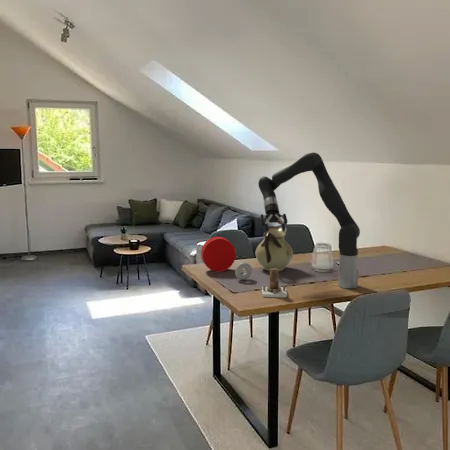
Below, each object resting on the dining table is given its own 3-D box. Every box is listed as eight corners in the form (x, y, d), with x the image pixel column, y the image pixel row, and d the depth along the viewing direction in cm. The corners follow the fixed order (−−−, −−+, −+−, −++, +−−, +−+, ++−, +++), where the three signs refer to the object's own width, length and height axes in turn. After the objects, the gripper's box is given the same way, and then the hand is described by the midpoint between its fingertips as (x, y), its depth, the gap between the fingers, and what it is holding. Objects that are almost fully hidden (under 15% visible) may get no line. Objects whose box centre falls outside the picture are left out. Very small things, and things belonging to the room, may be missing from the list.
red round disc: (233, 268, 286) (233, 235, 283) (235, 270, 280) (235, 237, 277) (201, 270, 282) (200, 237, 278) (202, 272, 276) (202, 239, 273)
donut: (250, 278, 264) (250, 260, 262) (253, 279, 260) (253, 262, 259) (234, 280, 260) (233, 262, 258) (236, 281, 257) (236, 264, 255)
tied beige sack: (283, 263, 297) (283, 224, 293) (300, 272, 275) (300, 230, 271) (250, 266, 290) (249, 226, 286) (264, 276, 268) (264, 233, 264)
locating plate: (285, 290, 241) (285, 283, 240) (286, 297, 229) (287, 290, 229) (262, 289, 242) (262, 283, 241) (262, 296, 230) (262, 290, 229)
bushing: (280, 288, 238) (280, 267, 237) (281, 292, 232) (281, 271, 230) (266, 288, 239) (267, 267, 237) (267, 292, 232) (267, 270, 230)
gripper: (259, 202, 255) (263, 227, 245) (285, 202, 256) (290, 226, 247) (257, 211, 261) (261, 235, 251) (282, 210, 262) (287, 234, 253)
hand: (275, 230), depth 249 cm, fingers open, 8 cm apart
